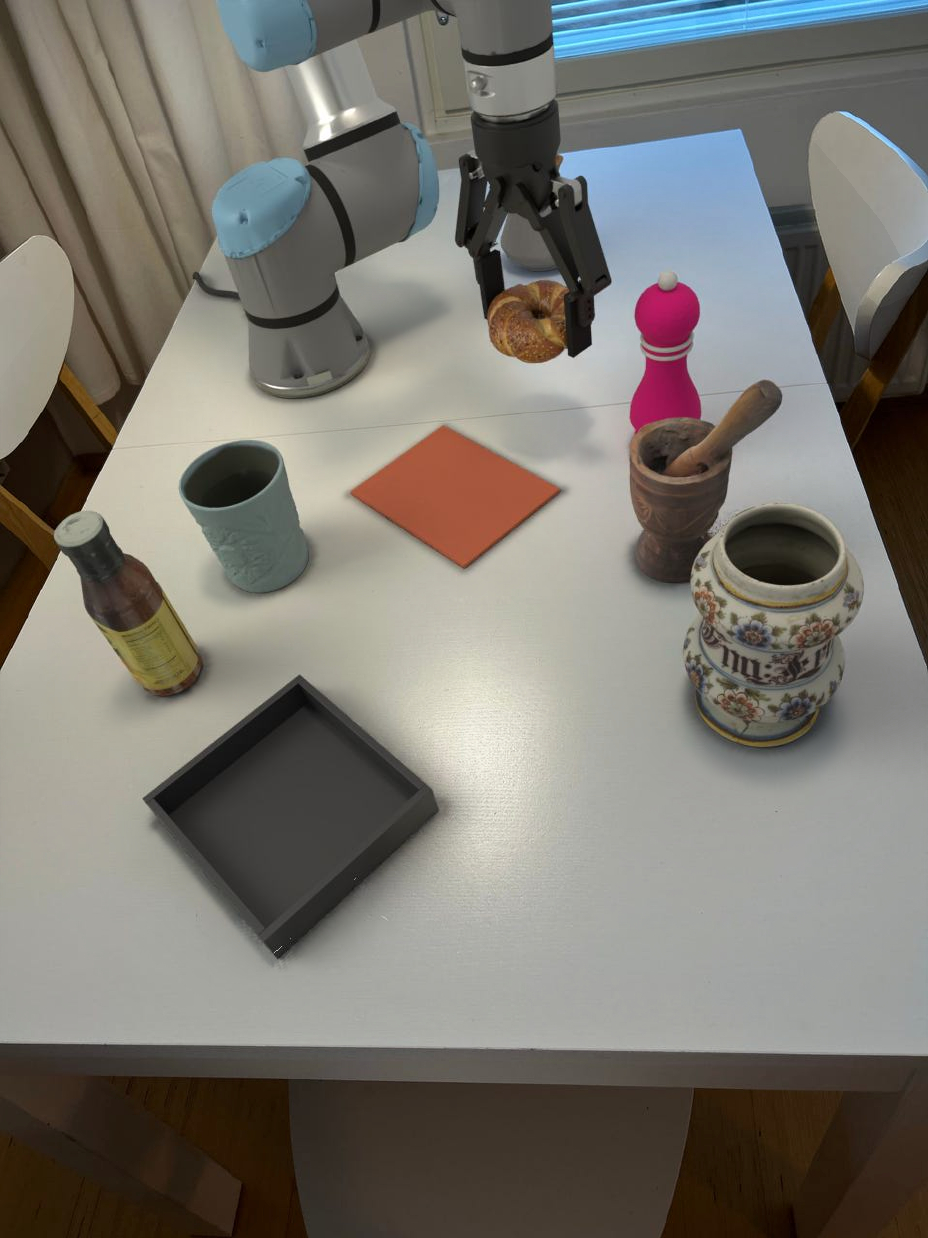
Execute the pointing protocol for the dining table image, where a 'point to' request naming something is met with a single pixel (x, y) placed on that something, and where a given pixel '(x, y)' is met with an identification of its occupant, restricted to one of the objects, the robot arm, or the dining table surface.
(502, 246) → the coffee pot
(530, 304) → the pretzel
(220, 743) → the tray
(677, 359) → the pepper mill
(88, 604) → the sauce bottle
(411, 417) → the dining table surface
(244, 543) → the light blue ceramic cup
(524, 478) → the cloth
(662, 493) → the mortar and pestle
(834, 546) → the apothecary jar
